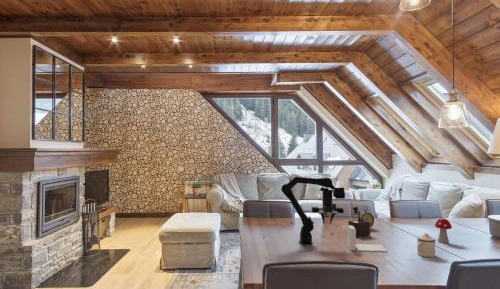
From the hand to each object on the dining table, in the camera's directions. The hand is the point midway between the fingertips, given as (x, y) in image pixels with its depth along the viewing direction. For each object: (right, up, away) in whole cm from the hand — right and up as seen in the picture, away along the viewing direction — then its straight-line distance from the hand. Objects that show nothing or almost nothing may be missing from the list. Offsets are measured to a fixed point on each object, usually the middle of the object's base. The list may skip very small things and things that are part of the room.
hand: (327, 224), depth 220 cm
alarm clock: (+38, -14, +45) cm, 61 cm away
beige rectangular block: (+12, -12, -8) cm, 19 cm away
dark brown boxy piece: (+26, -13, +27) cm, 40 cm away
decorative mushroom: (+74, -13, +6) cm, 75 cm away
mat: (+23, -12, -10) cm, 27 cm away
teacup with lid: (+48, -12, -23) cm, 55 cm away
